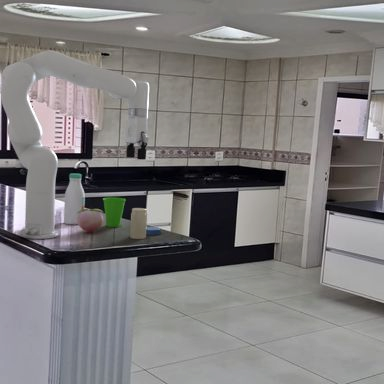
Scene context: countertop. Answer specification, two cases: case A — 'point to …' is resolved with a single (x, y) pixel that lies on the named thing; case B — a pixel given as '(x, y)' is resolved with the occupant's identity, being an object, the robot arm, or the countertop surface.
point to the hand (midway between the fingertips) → (135, 158)
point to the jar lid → (153, 231)
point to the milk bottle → (74, 199)
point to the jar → (138, 223)
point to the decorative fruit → (90, 219)
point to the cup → (113, 211)
